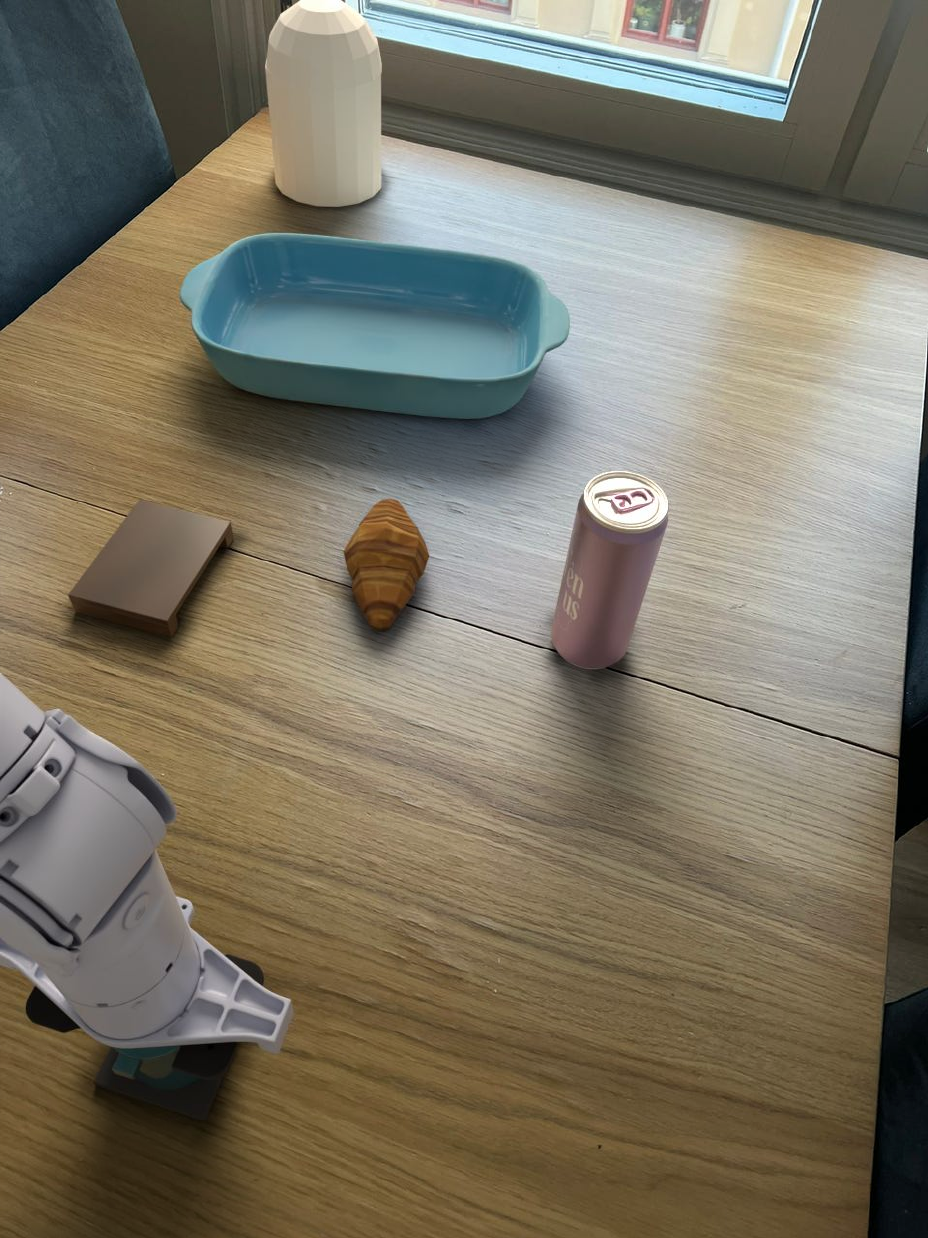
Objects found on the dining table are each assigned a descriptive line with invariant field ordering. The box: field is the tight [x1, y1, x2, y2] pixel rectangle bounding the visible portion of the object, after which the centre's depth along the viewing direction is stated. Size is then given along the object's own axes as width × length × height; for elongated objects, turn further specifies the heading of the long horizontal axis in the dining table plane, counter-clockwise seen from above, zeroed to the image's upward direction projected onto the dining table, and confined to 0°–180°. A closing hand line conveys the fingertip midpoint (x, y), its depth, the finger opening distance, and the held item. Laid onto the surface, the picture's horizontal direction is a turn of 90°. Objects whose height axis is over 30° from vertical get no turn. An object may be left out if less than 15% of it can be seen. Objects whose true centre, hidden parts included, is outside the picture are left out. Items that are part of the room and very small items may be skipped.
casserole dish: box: [179, 232, 571, 420], centre depth 91 cm, size 37×22×7 cm, turn 86°
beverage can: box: [550, 470, 670, 670], centre depth 66 cm, size 6×6×15 cm
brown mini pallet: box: [67, 498, 234, 638], centre depth 73 cm, size 8×11×2 cm
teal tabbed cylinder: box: [112, 932, 205, 1090], centre depth 49 cm, size 5×8×6 cm
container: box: [264, 0, 383, 208], centre depth 110 cm, size 13×13×20 cm
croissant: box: [343, 498, 430, 632], centre depth 73 cm, size 14×7×5 cm, turn 0°
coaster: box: [92, 1046, 226, 1122], centre depth 51 cm, size 6×6×1 cm
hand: (172, 1034), depth 50 cm, fingers closed on teal tabbed cylinder, 5 cm apart
